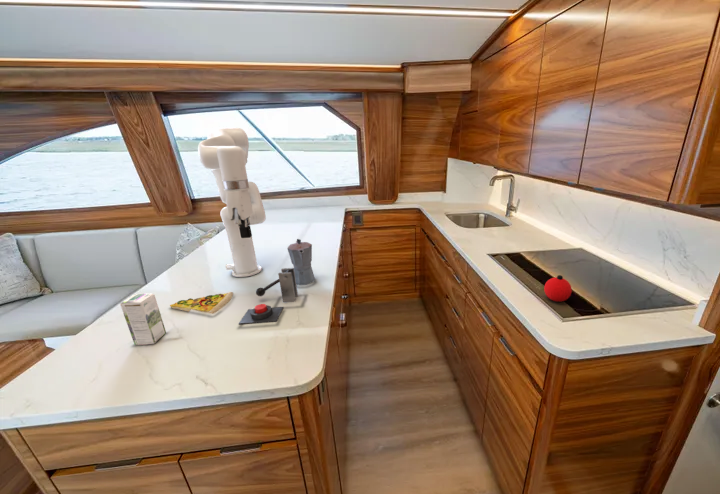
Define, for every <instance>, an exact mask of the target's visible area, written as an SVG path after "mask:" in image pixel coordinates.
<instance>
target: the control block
mask: <svg viewBox="0 0 720 494" xmlns="http://www.w3.org/2000/svg"><path fill="white" fill-rule="evenodd" d="M265 305H266V307H267V311H266V312H264V313H258V314H257V313H255V307H253V308H248V309H247V310H246V312H245V313H244V315H243V317H241V319H240V321H239V322H238V325H239V326H242V325H252V324H253V325H254V324H255V325H256V324H267V323H277V322H278V321H279V318H280V317H281V314H282V313H283V312H282V311H283V310H284V306H275V307H272V306H271V305H268V304H265Z"/></svg>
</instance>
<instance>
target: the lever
mask: <svg viewBox="0 0 720 494" xmlns="http://www.w3.org/2000/svg"><path fill="white" fill-rule="evenodd" d="M286 272H290V271H289V270H287V271H286ZM284 273H285V272H284ZM292 275H293V274H292ZM278 283H279V284H280V281H279V278H277V279H276V280H274V281H273V282H271V283H269V284H268V285H266V286H264V287H258V288H257V289H256V290H255V294H256V295H257V296H258V297H263V296H264V295H265V294H266V291H268V290H269V289H271V288H272V287H274V286H276V285H277V284H278Z"/></svg>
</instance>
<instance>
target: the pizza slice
mask: <svg viewBox="0 0 720 494" xmlns="http://www.w3.org/2000/svg"><path fill="white" fill-rule="evenodd" d="M233 296H234V291H228V292H226V293H218V294H217V293H216V294H209V295H206V296H202V297H197V298H194V299H193V298H192V297H191V298H188V299H186V300H185V299H180V300H178V301H177V302H175V303H172V304H169V307H170V308H171V309H173V310H174V309H175V310H180V311H184V312H191V310H192V311H196V312H197V311H198V312H202V313H207V314H210V315H211V314H216V313H217V312H218V311H219V310H221V309H223V308H224V307H225V306H226V305H228V303H229V302H230V301H231V299H233Z"/></svg>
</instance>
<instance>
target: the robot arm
mask: <svg viewBox="0 0 720 494" xmlns="http://www.w3.org/2000/svg"><path fill="white" fill-rule="evenodd" d="M206 136H207V139H206V138H205V139H204V140H201V141H200V142H199V143H198V146H197V153H198V158H199V161H200V163H201V165H202V166H203V168H204V169H206V170H209V171H211V173H212V174H213V176H214V178H215V182H216V183H215V184H216V186H217V190H218V194H219V198H220V200H221V202H222V203H223V204H225V205H226V206H224V207H223V208H222V209H221V210H220V213H219V214H220V218H221V221H222V224H223V226H224V229H225V232H226V236H227V239H228V244H229V249H230V252H231V257H232V258H231V259H232V262H233V263H228V264H225V269H226V270H227V271H230V270H231V275H232V276H233V277H235V278H246V277H251V276H254V275H257V274H259V273H260V272H262V270H263V268H262V266H261V265H259V264H258V262H257V256H256V251H255V245H254V239H253V234H252V229H251V226H255V225H260V224H263V223H264V222H265V221H266V219H267V217H266V212H265V208H264V205H263V200H262V196H261V193H260V190H259V187H258V186H257V185H258V184H256V183H255V182H253V181H249V178H248V174H247V168H246V165H247V164H248V157H249V147H250V145H249V144H250V141H249V137H248V135H247V132H246V131H245V130H244V129H243V128H241V127H224V126H223V127H220V126H219V127H212V128H211V129H209V130H208V132H207V135H206Z"/></svg>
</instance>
